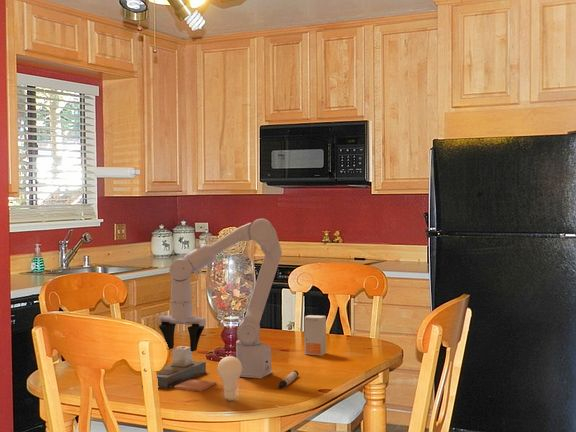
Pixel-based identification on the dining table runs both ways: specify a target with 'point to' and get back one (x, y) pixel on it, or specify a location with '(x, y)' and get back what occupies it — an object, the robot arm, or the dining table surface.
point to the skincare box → (315, 335)
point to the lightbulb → (229, 375)
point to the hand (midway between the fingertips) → (182, 349)
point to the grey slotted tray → (179, 374)
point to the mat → (195, 385)
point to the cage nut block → (182, 356)
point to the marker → (288, 379)
